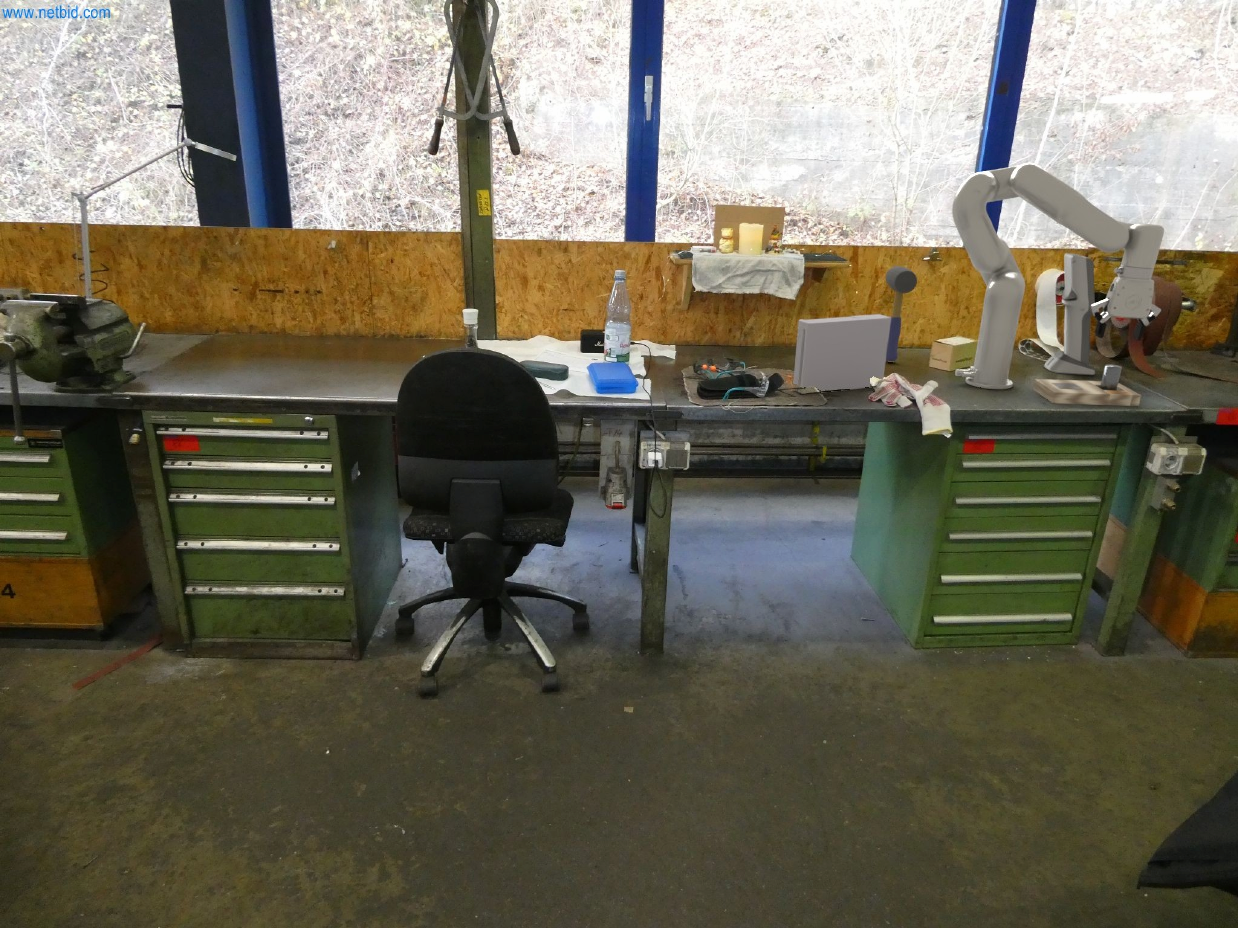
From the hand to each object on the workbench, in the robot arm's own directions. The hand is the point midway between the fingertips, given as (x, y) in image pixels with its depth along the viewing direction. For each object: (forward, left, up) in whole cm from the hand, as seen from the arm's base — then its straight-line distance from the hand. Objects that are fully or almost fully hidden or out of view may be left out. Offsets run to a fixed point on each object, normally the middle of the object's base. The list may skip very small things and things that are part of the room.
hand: (1117, 338), depth 216 cm
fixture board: (-5, 0, -17) cm, 17 cm away
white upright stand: (+4, +32, -17) cm, 36 cm away
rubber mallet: (-50, +35, -17) cm, 63 cm away
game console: (-72, +1, -17) cm, 74 cm away
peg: (0, 0, -17) cm, 17 cm away
